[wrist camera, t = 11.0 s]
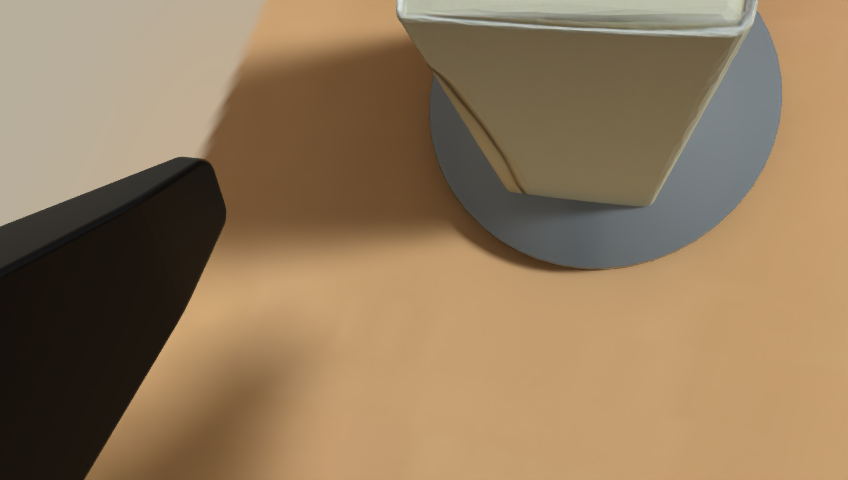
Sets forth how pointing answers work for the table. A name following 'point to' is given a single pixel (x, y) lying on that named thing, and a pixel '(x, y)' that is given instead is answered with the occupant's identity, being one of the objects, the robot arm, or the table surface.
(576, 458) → the table surface
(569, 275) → the table surface
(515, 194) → the charcoal coaster
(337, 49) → the table surface
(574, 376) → the table surface
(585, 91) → the skincare box
